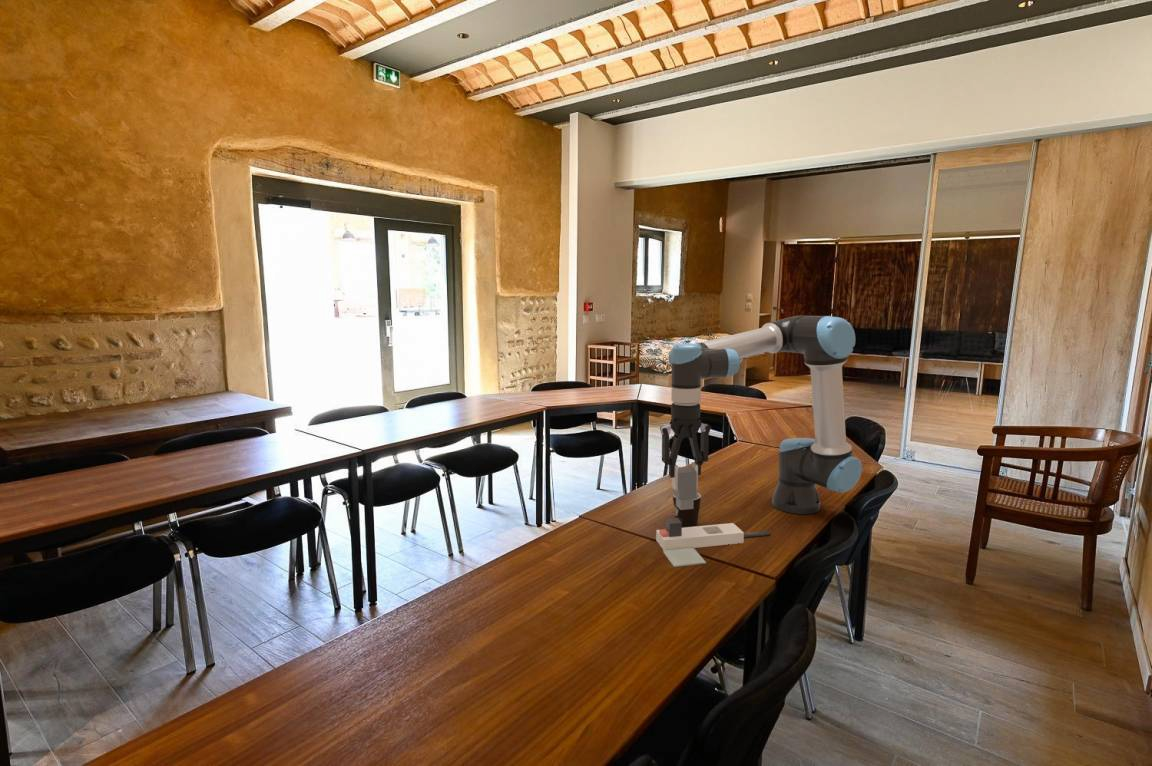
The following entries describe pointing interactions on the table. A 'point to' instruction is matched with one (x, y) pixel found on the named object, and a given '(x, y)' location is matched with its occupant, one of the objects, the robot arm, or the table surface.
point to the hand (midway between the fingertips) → (684, 487)
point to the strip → (700, 535)
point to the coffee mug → (688, 513)
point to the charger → (686, 488)
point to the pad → (684, 557)
